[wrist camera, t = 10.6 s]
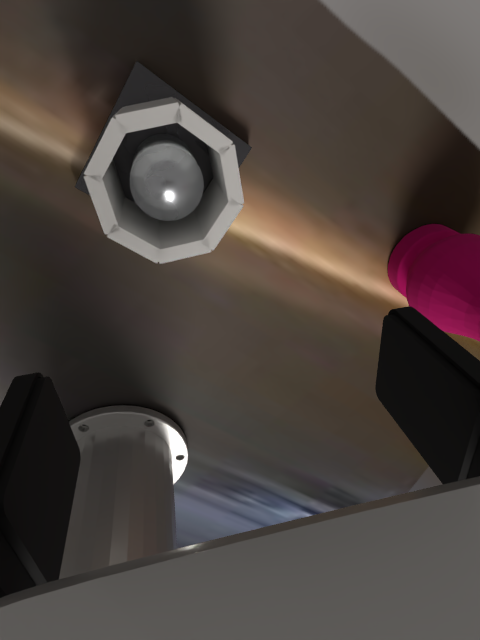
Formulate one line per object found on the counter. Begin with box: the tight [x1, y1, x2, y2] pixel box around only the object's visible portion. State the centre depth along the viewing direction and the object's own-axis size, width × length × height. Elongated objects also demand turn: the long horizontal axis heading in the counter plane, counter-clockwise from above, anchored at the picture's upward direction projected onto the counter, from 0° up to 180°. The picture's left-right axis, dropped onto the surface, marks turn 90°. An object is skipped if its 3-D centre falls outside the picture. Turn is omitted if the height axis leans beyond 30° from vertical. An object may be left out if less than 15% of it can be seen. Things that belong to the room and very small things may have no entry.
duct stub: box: [75, 61, 252, 221], centre depth 23 cm, size 8×8×6 cm
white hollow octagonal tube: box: [84, 97, 244, 264], centre depth 23 cm, size 7×7×6 cm
